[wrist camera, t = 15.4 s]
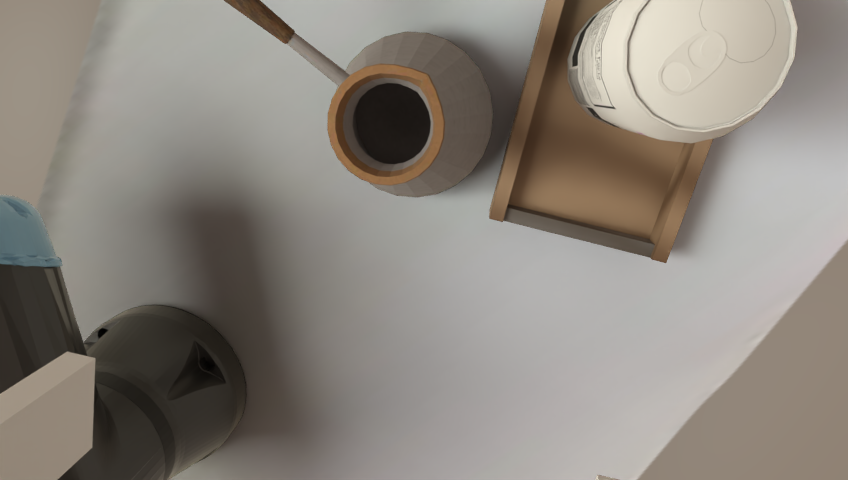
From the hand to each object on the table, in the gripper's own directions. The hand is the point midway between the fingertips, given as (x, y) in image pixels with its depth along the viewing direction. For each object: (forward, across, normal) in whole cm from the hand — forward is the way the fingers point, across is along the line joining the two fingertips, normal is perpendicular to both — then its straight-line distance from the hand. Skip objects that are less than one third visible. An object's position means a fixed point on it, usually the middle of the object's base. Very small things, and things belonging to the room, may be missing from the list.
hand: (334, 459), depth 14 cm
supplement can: (+29, +11, +14) cm, 34 cm away
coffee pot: (+31, -7, +10) cm, 33 cm away
